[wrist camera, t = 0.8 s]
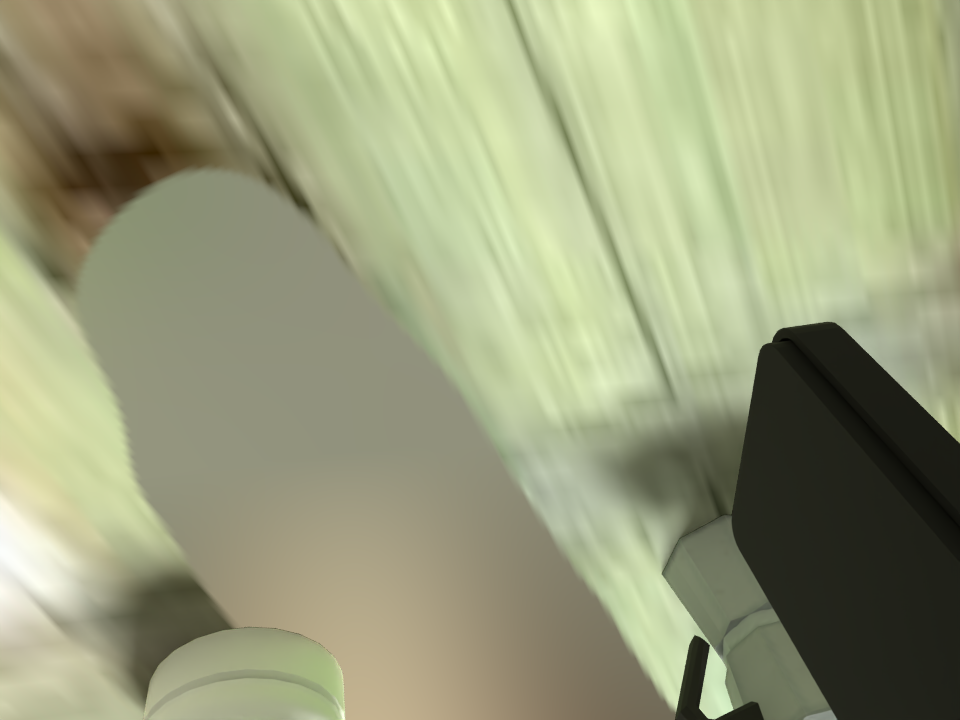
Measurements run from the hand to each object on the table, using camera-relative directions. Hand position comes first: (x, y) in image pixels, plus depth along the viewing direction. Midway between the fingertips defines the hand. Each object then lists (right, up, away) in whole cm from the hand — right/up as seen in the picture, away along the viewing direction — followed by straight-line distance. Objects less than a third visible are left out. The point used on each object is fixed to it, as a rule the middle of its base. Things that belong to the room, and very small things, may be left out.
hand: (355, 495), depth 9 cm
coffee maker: (+17, -12, +48) cm, 53 cm away
